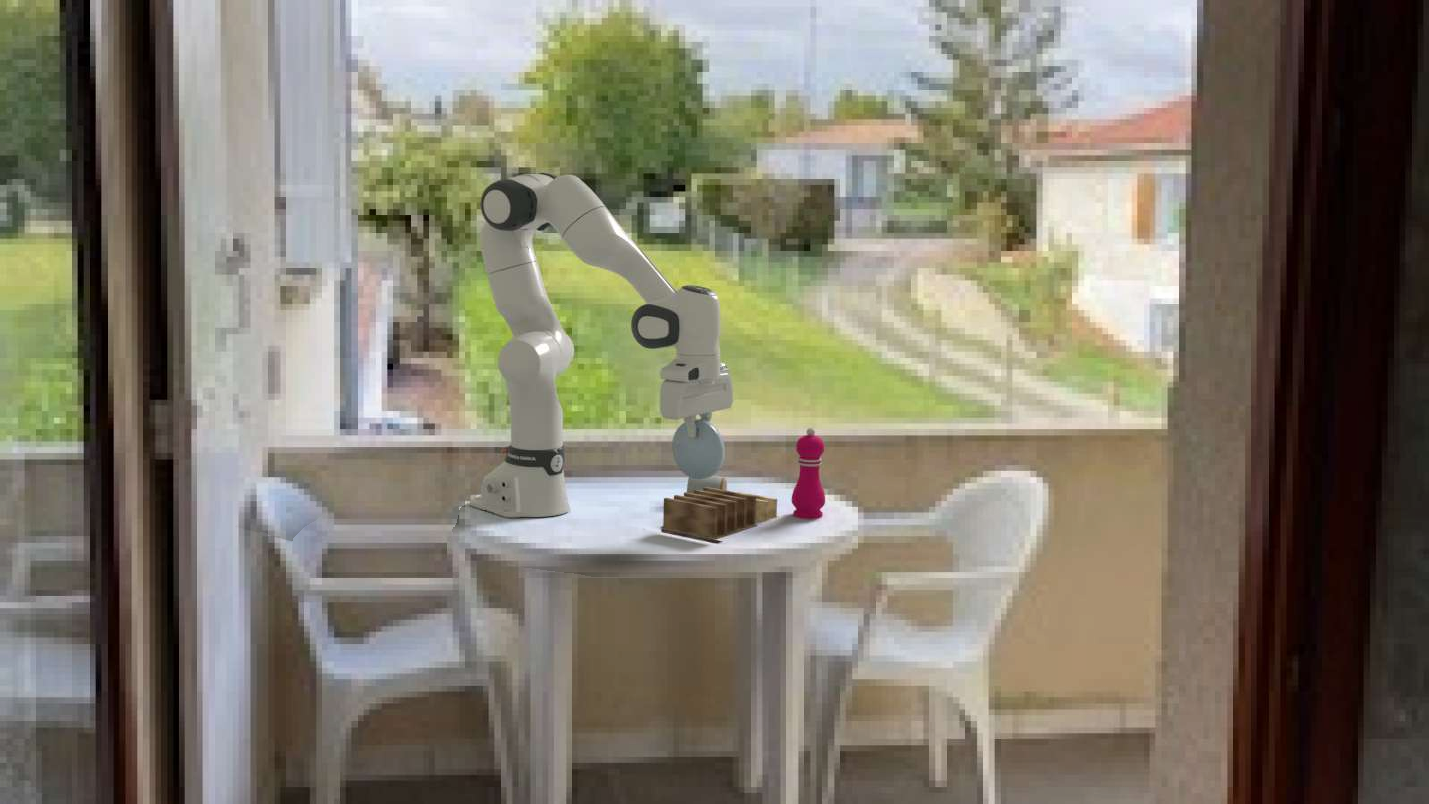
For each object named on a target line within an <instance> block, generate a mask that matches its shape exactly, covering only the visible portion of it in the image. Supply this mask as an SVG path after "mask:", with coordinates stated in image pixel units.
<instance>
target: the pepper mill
mask: <svg viewBox="0 0 1429 804" xmlns="http://www.w3.org/2000/svg"><path fill="white" fill-rule="evenodd" d="M815 433H816V431H815V429H814V428H812V427H809V428H807V429H806V434H804V435H803V436H800V437H799V438H798V440H797V442H796V446H795V449H796V453H797V454H798V455H799V457H798V458H797V460H798V461H797V464H798V465H799V475H798V479H797V482H796V484H795V486H794V489H793V490H792V494H791V503H792V506H794V508H795V510H794V511H793V513H792V514H793V517H795V518H798V519H802V520H803V519H804V520H806V519H807V520H813V519H814V520H816V519H820V518H822V517H823V515H824V514H823V511H822V508H823V507H824V506H825V504H826V493H825V491H824V488H823V486H822V482H821V478H820V466H821V465H822V458H821V456H822V455H823V454H824V452H825V443H824V441H823V439H822V438H821V437H820V436H818V435H815Z"/></svg>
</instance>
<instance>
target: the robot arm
mask: <svg viewBox="0 0 1429 804" xmlns="http://www.w3.org/2000/svg"><path fill="white" fill-rule="evenodd" d="M480 210H481V211H480V212H481V214H482V216H483V217H482V218H483V219H484V220H485V221H486V223H484V224H483V225H482V227H481V228H480V233H479V235H480V236H479V237H480V238H479V239H480V248H481V255H482V260H483V265H484V269H485V270H484V271H485V273H486V274H485V275H486V276H487V277H486V278H487V281H488V283H489V287H490V291H491V295H492V297H493V300H494V305H495V308H496V310H497V312H498V314H499V315H500V316H501V317H502V318H503V319H504V321H505V324H506V325H507V326H508V327H509V329H510V330H509V331H510V332H511V334H512V335H513V337H511V338H510V339H509V340H508V341H507V342H506V343H505V344H504V345H503V347H502V348H501V350H500V351H499V353H498V355H497V356H498V358H497V367H498V369H499V372H500V375H501V376H502V378H504V382H505V386H506V392H507V396H508V401H509V409H510V410H509V411H510V445H509V446H506V447H502V448H501V450H503V451H501V454H506V455H505V458H504V460H503V462H502V463H501V464H499V465H498V466H497V467H496V468H495V469H493V470H492V471H490V472H489V473H488V474H486V475H485V476H484V478H483V480H482V482H481V489H480V496H476V497H474V498H472V499H471V500H470V501H469V506H471V507H473V508H476V509H480V510H484V511H485V510H488V511H487V512H489V511H490V512H489V513H492V512H493V513H492V514H494V515H498V516H500V517H504V518H522V517H523V518H525V517H527V518H541V517H542V518H543V517H544V518H545V517H552V516H554V517H555V516H559V515H563V514H565V513H568V512H569V511H570V510H571V508H570V505H569V501H568V500H569V499H568V496H567V495H568V494H567V488H566V479H565V471H564V466H565V462H566V451H565V448H566V447H565V445H564V444H563V443H564V441H563V440H564V439H563V438H564V437H563V436H564V434H563V433H564V432H563V431H564V430H563V429H564V410H563V408H562V407H563V406H562V405H561V404H560V400H559V397H558V392H557V387H556V377H558V376H560V375H562V374H564V372H565V371H566V370H567V368H568V367H569V366H570V365H571V363H572V362H573V359H574V355H575V345H574V342H573V340H572V339H571V337H570V336H569V335H568V334H567V333H566V332H565V329H564V328H563V326H562V324H561V322H560V320H559V318H558V315H557V313H556V311H555V309H554V308H553V306H552V304H551V301H550V298H549V296H548V294H547V293H548V292H547V289H546V287H545V283H544V280H543V276H542V272H541V268H540V266H539V261H538V259H537V255H536V252H535V249H534V245H533V244H534V243H533V236H534V234H535V231H539V232H542V231H544V230H545V229H547V228H548V227H549V226H552V228H554V230H555V231H556V232H557V234H558V235H559V236H560V238H561V239H562V241H563V242H564V243H565V245H566V246H567V248H568V249H569V251H571V252H572V254H573V255H574V256H576V257H577V259H579V260H580V261H582V262H583V263H584V264H586V265H588V266H591V267H596V268H599V269H603V270H607V271H610V272H612V273H615V274H617V275H619V276H621V277H622V278H623V279H624V280H626V281H627V282H628V283H629V285H631V286H632V288H633V289H634V290H635V291H636V292H637V293H638V295H639V296H640V297H641V298H642V299H643V301H645V304H643V305H641V306H639V307H638V308H637V309H636V310H635V311H634V312H633V314H632V318H631V321H630V322H631V323H630V327H631V329H630V330H631V333H632V337H633V338H634V340H635V341H636V342H637V344H638V345H640V346H641V347H643V348H646V349H649V350H661V349H668V348H675V351H676V354H675V355H676V357H675V358H673V359H672V361H670V362H669V363H668V364H666V365H665V366H663V367H662V368H661V369H660V372H659V374H660V375H659V376H660V379H661V380H663V381H662V383H661V385H660V389H659V392H660V393H659V411H660V415H661V416H662V417H663V419H666V420H667V419H668V420H672V421H673V420H674V421H676V420H682V419H683V423H685V424H686V427H687V428H688V431H687V435H688V437H692V438H694V437H697V436H698V435H699V433H698V432H699V428H696V425H695V422H694V421H696V419H697V416H698V417H700V419H701V420H705V421H708V422H709V423H711V420H712V416H713V415H712V413H713V412H718V411H722V410H727V409H731V408H732V405H733V403H734V390H733V381H732V376H731V374H730V369H729V367H728V366H727V365H726V363H721V347H720V343H719V342H720V341H719V339H720V336H721V333H722V320H721V319H722V318H721V317H722V316H721V314H722V313H721V305H720V299H719V296H718V294H717V293H716V292H715V291H714V290H712V289H711V288H708V287H704V286H699V285H683V286H681V287H680V288H679V289H678V290H677V289H676V288H675V287H674V286H673V284H671V283H670V281H669V280H668V279H667V278H666V277H665V276H664V275H663V274H662V272H661V271H660V270H659V269H658V268H657V267H656V265H655V264H654V263H653V262H652V260H651V259H650V258H649V257H648V256H647V255H646V253H644V252H643V250H641V248H639V246H638V245H637V244H636V243H635V242H634V241H633V240H632V238H631V237H630V236H629V235H628V234H627V233H626V232H625V230H624V229H623V228H622V226H621V225H620V223H618V221H617V219H615V217H614V216H613V215H612V213H611V212H610V211H609V209H608V208H607V207H606V205H605V204H604V203H603V201H602V200H601V199H600V197H598V196H597V195H596V193H595V192H594V191H593V190H592V189H591V188H590V186H588V185H587V184H586V183H585V182H584V181H583V180H582V179H580V178H579V177H578V176H576V175H574V174H561V175H560V176H557V175H555V174H552V173H547V172H538V173H523V174H518V175H517V176H512V177H508V178H502V179H499V180H496V181H494V182H492V183H491V184H489V185H488V186H487V187H486V188H485V189H484V191H483V192H482V194H481V198H480Z"/></svg>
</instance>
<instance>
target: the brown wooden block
mask: <svg viewBox="0 0 1429 804" xmlns="http://www.w3.org/2000/svg"><path fill="white" fill-rule="evenodd" d="M737 493H742V494H748V495H753V496H756V521H758V522H767V521H771V520H774V519H776V518H779V517H780V516H779V515H777V514H778V513H777V512H778V498H774V497H768V496H762V495H757V494H753V493H747V492H742V491H737Z"/></svg>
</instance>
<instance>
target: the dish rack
mask: <svg viewBox="0 0 1429 804" xmlns="http://www.w3.org/2000/svg"><path fill="white" fill-rule="evenodd" d="M737 492H738V491H737ZM737 492H736V491H732V490H731V491H730V490H727V491H726V490H720V489H715V488H709V487H703V491H702V490H694V493H688V492H687V491H685V492H683V495H679V494H674V495H673V498H670V497H663V516H662V517H663V518H662V520H663V521H662V522H663V523H662V525H663V526H662V525H661V529H660V531H661V533H663V534H668V535H673V536H678V537H682V538H687V539H693V540H698V541H702V542H707V543H709V544H716V545H718V544H720V543H723V542H724V541H723V540H718V539H721V538H724V537H727V536H730V535H733V534H737V533H739V532H742V531H743V532H744V531H746V530H748V529H751V528H755V527H758V524H756V521H757V520H756V496H753V495H754V494H753V495H748V494H749V493H747V494H742V493H743V492H742V493H737Z"/></svg>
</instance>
